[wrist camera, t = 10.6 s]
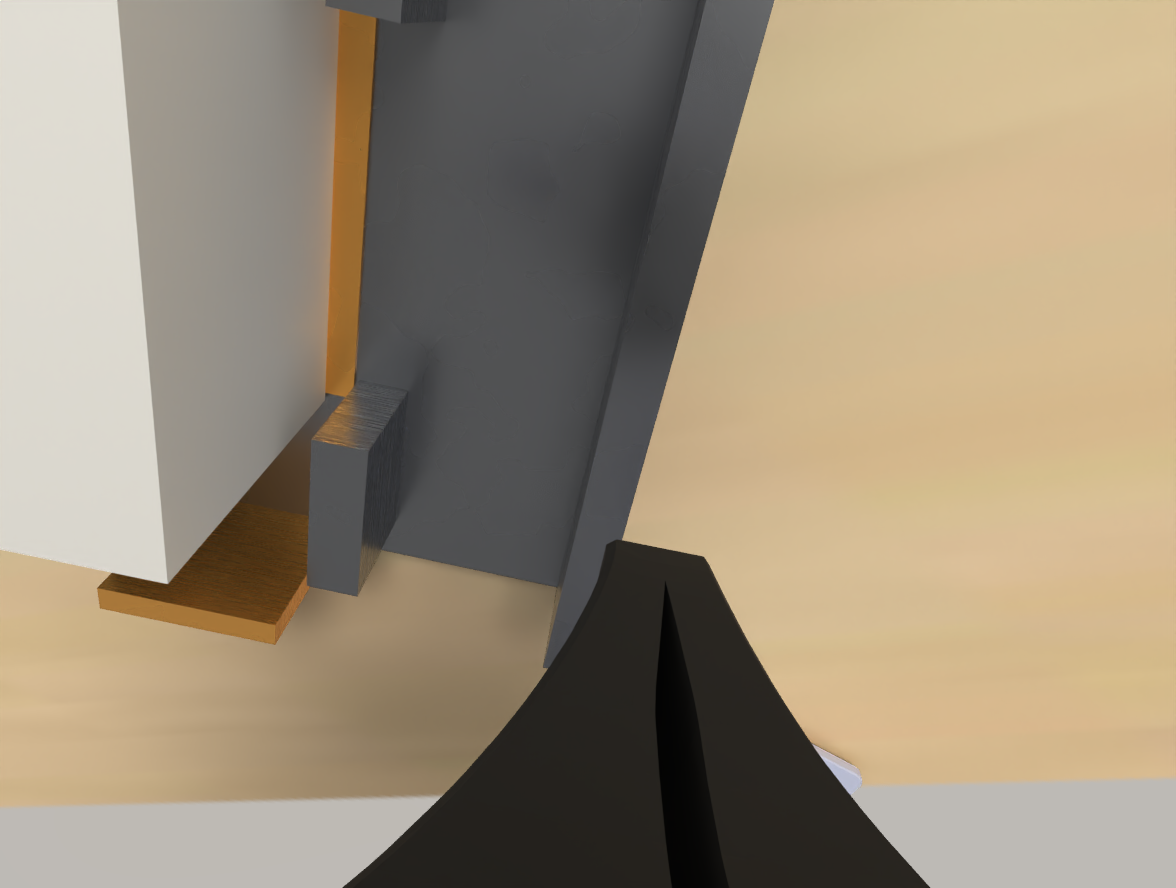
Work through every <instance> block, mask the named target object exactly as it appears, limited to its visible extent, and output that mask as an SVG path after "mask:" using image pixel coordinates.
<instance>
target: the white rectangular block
mask: <svg viewBox="0 0 1176 888" xmlns="http://www.w3.org/2000/svg"><path fill="white" fill-rule="evenodd" d="M325 2H326V0H0V550H5V551H10V552H15V553H19V554H24V555H29V556H34V557H39V558H44V559H48V560H53V561H58V562H63V563H68V564H73V565H77V566H82V567H87V568H92V569H97V570H102V571H106V572H111V573H116V574H121V575H126V576H131V577H136V578H140V579H145V580H150V581H155V582H160V583H165V584H168V583H169V582H170V581H171V580H172V579H173V577H174V576H175V575H176V574H177V573H178V572H179V570H180V569H181V568H182V567H183V566H184V565H185V563H186V562H187V561H188V560H189V559H190V558H191V556H192V555H193V554H194V553H195V552H196V551H197V549H198V548H199V547H200V546H201V545H202V544H203V542H204V541H205V540H206V539H207V538H208V537H209V535H210V534H211V533H212V532H213V531H214V530H215V528H216V527H217V526H218V525H219V524H220V522H221V521H222V520H223V519H224V518H225V517H226V515H227V514H228V513H229V512H230V511H231V510H232V508H233V507H234V506H235V505H236V504H237V503H238V501H239V500H240V499H241V498H242V497H243V496H244V494H245V493H246V492H247V491H248V490H249V489H250V487H251V486H252V485H253V484H254V483H255V482H256V480H257V479H258V478H259V477H260V476H261V475H262V473H263V472H264V471H265V470H266V469H267V468H268V466H269V465H270V464H271V463H272V462H273V461H274V459H275V458H276V457H277V456H278V455H279V454H280V452H281V451H282V450H283V449H284V448H285V446H286V445H287V444H288V443H289V442H290V441H291V439H292V438H293V437H294V436H295V435H296V434H297V432H298V431H299V430H300V429H301V428H302V427H303V425H304V424H305V423H306V422H307V421H308V420H309V418H310V417H311V416H312V415H313V414H314V413H315V411H316V410H317V409H318V408H319V407H320V406H321V404H322V403H323V402H324V401H325V385H326V358H327V332H328V305H329V278H330V251H331V224H332V197H333V170H334V144H335V117H336V90H337V63H338V36H339V9H336V8H332V7H328V6H325Z"/></svg>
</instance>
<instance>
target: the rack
mask: <svg viewBox="0 0 1176 888" xmlns="http://www.w3.org/2000/svg"><path fill="white" fill-rule="evenodd" d="M773 3H774V0H326V2H325V6H328V7H332V8H336V9H339V36H338V63H337V90H336V117H335V144H334V170H333V197H332V224H331V251H330V278H329V305H328V332H327V358H326V385H325V401H324V402H323V403H322V404H321V406H320V407H319V408H318V409H317V410H316V411H315V413H314V414H313V415H312V416H311V417H310V418H309V420H308V421H307V422H306V423H305V424H304V425H303V427H302V428H301V429H300V430H299V431H298V432H297V434H296V435H295V436H294V437H293V438H292V439H291V441H290V442H289V443H288V444H287V445H286V446H285V448H284V449H283V450H282V451H281V452H280V454H279V455H278V456H277V457H276V458H275V459H274V461H273V462H272V463H271V464H270V465H269V466H268V468H267V469H266V470H265V471H264V472H263V473H262V475H261V476H260V477H259V478H258V479H257V480H256V482H255V483H254V484H253V485H252V486H251V487H250V489H249V490H248V491H247V492H246V493H245V494H244V496H243V497H242V498H241V499H240V500H239V501H238V503H237V504H236V505H235V506H234V507H233V508H232V510H231V511H230V512H229V513H228V514H227V515H226V517H225V518H224V519H223V520H222V521H221V522H220V524H219V525H218V526H217V527H216V528H215V530H214V531H213V532H212V533H211V534H210V535H209V537H208V538H207V539H206V540H205V541H204V542H203V544H202V545H201V546H200V547H199V548H198V549H197V551H196V552H195V553H194V554H193V555H192V556H191V558H190V559H189V560H188V561H187V562H186V563H185V565H184V566H183V567H182V568H181V569H180V570H179V572H178V573H177V574H176V575H175V576H174V577H173V579H172V580H171V581H170V582H169V583H168V584H165V583H160V582H155V581H150V580H145V579H140V578H136V577H131V576H126V575H121V574H116V573H111V574H110V575H109V576H108V578H107V579H106V580H105V581H104V582H103V583H102V584H101V585H100V586H99V587H98V588H97V590H98V597H99V604H100V608H101V609H106V610H111V611H116V612H120V613H125V614H130V615H135V616H140V617H145V618H149V619H154V620H159V621H164V622H169V623H173V624H178V625H183V626H188V627H193V628H197V629H202V630H207V631H212V632H217V633H221V634H226V635H231V636H236V637H241V638H246V639H250V640H255V641H260V642H265V643H270V644H274V645H275V644H276V642H277V641H278V639H279V637H280V636H281V634H282V633H283V631H284V629H285V628H286V626H287V624H288V623H289V621H290V619H291V618H292V616H293V614H294V613H295V611H296V609H297V608H298V606H299V604H300V603H301V601H302V599H303V598H304V596H305V594H306V593H307V591H308V589H309V588H310V587H315V588H319V589H324V590H329V591H334V592H338V593H343V594H348V595H353V596H358V594H359V592H360V590H361V588H362V587H363V585H364V583H365V581H366V579H367V577H368V575H369V573H370V571H371V569H372V567H373V565H374V563H375V561H376V559H377V557H378V555H379V553H380V551H381V550H385V551H389V552H394V553H399V554H403V555H408V556H413V557H418V558H422V559H427V560H432V561H436V562H441V563H446V564H450V565H455V566H460V567H465V568H469V569H474V570H479V571H483V572H488V573H493V574H497V575H502V576H507V577H512V578H516V579H521V580H526V581H530V582H535V583H540V584H545V585H549V586H554V587H557V591H556V596H555V602H554V608H553V613H552V619H551V625H550V631H549V636H548V642H547V648H546V653H545V659H544V665H543V667H544V668H549V667H550V665H551V663H552V662H553V660H554V659H555V657H556V656H557V654H558V653H559V651H560V650H561V648H562V647H563V645H564V644H565V642H566V640H567V639H568V637H569V635H570V634H571V632H572V630H573V628H574V627H575V625H576V623H577V621H578V619H579V617H580V615H581V614H582V612H583V610H584V608H585V606H586V604H587V602H588V601H589V599H590V596H591V594H592V592H593V590H594V587H595V585H596V583H597V580H598V577H599V572H600V568H601V564H602V560H603V556H604V552H605V548H606V544H608V543H610V542H612V541H614V540H616V539H617V540H622V538H623V534H624V531H625V527H626V524H627V520H628V517H629V513H630V510H631V506H632V503H633V499H634V495H635V492H636V488H637V485H638V481H639V478H640V474H641V471H642V467H643V464H644V460H645V457H646V453H647V449H648V446H649V442H650V439H651V435H652V432H653V428H654V425H655V421H656V418H657V414H658V410H659V407H660V403H661V400H662V396H663V393H664V389H665V386H666V382H667V379H668V375H669V372H670V368H671V364H672V361H673V357H674V354H675V350H676V347H677V343H678V340H679V336H680V333H681V329H682V325H683V322H684V318H685V315H686V311H687V308H688V304H689V301H690V297H691V294H692V290H693V287H694V283H695V279H696V276H697V272H698V269H699V265H700V262H701V258H702V255H703V251H704V248H705V244H706V240H707V237H708V233H709V230H710V226H711V223H712V219H713V216H714V212H715V209H716V205H717V202H718V198H719V194H720V191H721V187H722V184H723V180H724V177H725V173H726V170H727V166H728V163H729V159H730V155H731V152H732V148H733V145H734V141H735V138H736V134H737V131H738V127H739V124H740V120H741V117H742V113H743V109H744V106H745V102H746V99H747V95H748V92H749V88H750V85H751V81H752V78H753V74H754V70H755V67H756V63H757V60H758V56H759V53H760V49H761V46H762V42H763V39H764V35H765V32H766V28H767V24H768V21H769V17H770V14H771V10H772V7H773Z"/></svg>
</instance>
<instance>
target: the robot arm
mask: <svg viewBox="0 0 1176 888" xmlns="http://www.w3.org/2000/svg"><path fill="white" fill-rule="evenodd" d="M861 785H862V778H861V774H860V771H859V769H858V768H856V767H855V766H854V765H852V764H850V763H848V762H846V761H844V760H842V759H840V758H838V757H836V756H835V755H833V754H831V753H829V752H827V751H825V750H823V749H821V748H819V747H817V746H815V745H814V744H812V743H811V742H810V741H809V739H808V738H807V736H806V735H805V733H804V732H803V730H802V729H801V727H800V726H799V724H798V723H797V721H796V720H795V718H794V717H793V715H792V714H791V712H790V711H789V709H788V708H787V706H786V704H785V703H784V701H783V700H782V698H781V696H780V695H779V693H778V692H777V690H776V688H775V687H774V685H773V684H772V682H771V680H770V678H769V677H768V675H767V673H766V671H765V670H764V668H763V666H762V665H761V663H760V661H759V659H758V658H757V656H756V654H755V653H754V651H753V649H752V647H751V646H750V644H749V642H748V640H747V638H746V637H745V635H744V633H743V631H742V629H741V627H740V625H739V624H738V622H737V620H736V618H735V616H734V614H733V612H732V610H731V608H730V606H729V604H728V602H727V600H726V598H725V596H724V594H723V592H722V590H721V588H720V586H719V584H718V582H717V580H716V578H715V576H714V574H713V572H712V570H711V568H710V566H709V564H708V562H707V561H706V559H705V558H704V557H703V556H697V555H692V554H687V553H682V552H677V551H672V550H667V549H662V548H657V547H652V546H647V545H642V544H637V543H632V542H627V541H622V540H617V539H616V540H614V541H612V542H610V543H608V544H606V548H605V552H604V556H603V560H602V564H601V568H600V572H599V577H598V580H597V583H596V585H595V587H594V590H593V592H592V594H591V596H590V599H589V601H588V602H587V604H586V606H585V608H584V610H583V612H582V614H581V615H580V617H579V619H578V621H577V623H576V625H575V627H574V628H573V630H572V632H571V634H570V635H569V637H568V639H567V640H566V642H565V644H564V645H563V647H562V648H561V650H560V651H559V653H558V654H557V656H556V657H555V659H554V660H553V662H552V663H551V665H550V667H549V668H548V670H547V671H546V673H545V674H544V676H543V677H542V679H541V680H540V681H539V683H538V684H537V686H536V687H535V688H534V690H533V691H532V693H531V694H530V695H529V697H528V698H527V699H526V701H525V702H524V703H523V705H522V706H521V707H520V709H519V710H518V711H517V712H516V714H515V715H514V716H513V717H512V719H511V720H510V721H509V722H508V724H507V725H506V726H505V727H504V729H503V730H502V731H501V732H500V733H499V735H498V736H497V737H496V738H495V739H494V740H493V742H492V743H491V744H490V745H489V746H488V747H487V748H486V749H485V751H484V752H483V753H482V754H481V755H480V756H479V757H478V759H477V760H476V761H475V762H474V763H473V764H472V765H471V766H470V768H469V769H468V770H467V771H466V772H465V773H464V774H463V775H462V776H461V777H460V778H459V780H458V781H457V782H456V783H455V784H454V785H453V786H452V787H451V788H450V789H449V790H448V791H447V792H446V793H445V794H444V795H443V796H442V797H441V798H440V799H439V800H438V801H437V802H436V803H435V804H434V805H433V806H432V807H431V808H430V809H429V810H428V811H427V812H426V813H424V815H422V816H421V817H420V818H419V819H418V820H417V821H416V822H415V823H414V824H413V825H412V826H411V827H410V828H409V829H408V830H407V831H406V832H405V833H404V834H403V835H402V836H401V837H400V838H398V839H397V841H395V842H394V843H393V844H392V845H391V846H390V847H389V848H388V849H387V850H386V851H385V852H384V853H383V854H381V855H380V856H379V857H378V858H377V859H376V860H375V861H374V862H372V863H371V864H370V865H369V866H368V867H367V868H366V869H364V870H363V871H362V872H361V873H359V874H358V875H357V876H356V877H355V878H353V879H352V880H351V881H350V882H349V883H347V884H346V885H345V886H344V887H343V888H930V887H929V886H928V885H927V884H926V883H925V882H924V880H923V879H922V878H921V877H920V876H919V875H918V874H917V873H916V871H915V870H914V869H913V868H912V867H911V866H910V865H909V864H908V863H907V861H906V860H905V859H904V858H903V857H902V856H901V855H900V854H899V853H898V851H897V850H896V849H895V848H894V847H893V846H892V845H891V844H890V842H888V840H887V839H886V838H885V837H884V836H883V834H882V833H881V832H880V831H879V830H878V829H877V827H876V826H875V825H874V824H873V823H872V821H871V820H870V819H869V818H868V817H867V815H866V814H865V813H864V812H863V811H862V809H861V808H860V807H859V806H858V804H857V803H856V802H855V801H854V800H853V798H852V797H851V794H852V793H854V792H855V791H856V790H857V789H859V787H860V786H861Z"/></svg>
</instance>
